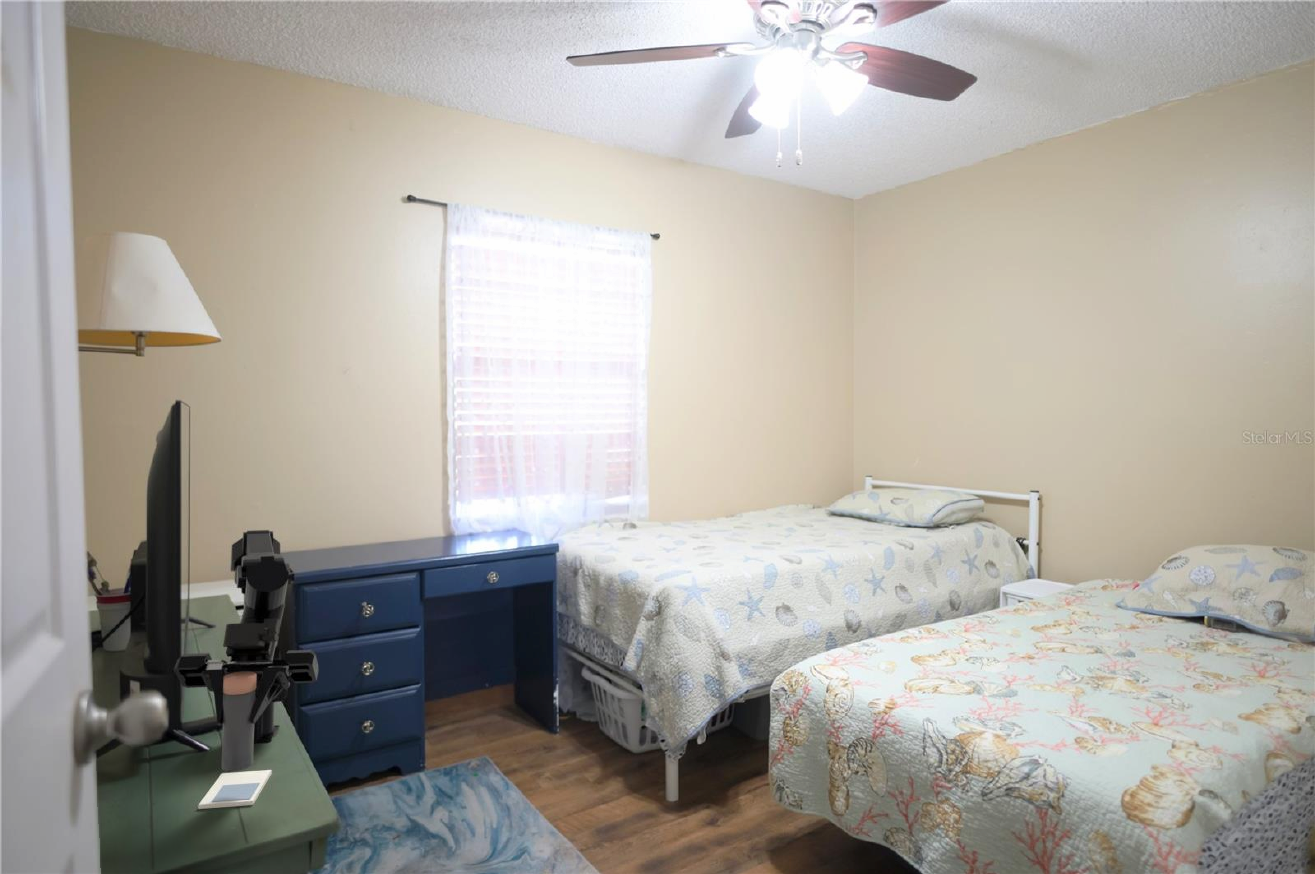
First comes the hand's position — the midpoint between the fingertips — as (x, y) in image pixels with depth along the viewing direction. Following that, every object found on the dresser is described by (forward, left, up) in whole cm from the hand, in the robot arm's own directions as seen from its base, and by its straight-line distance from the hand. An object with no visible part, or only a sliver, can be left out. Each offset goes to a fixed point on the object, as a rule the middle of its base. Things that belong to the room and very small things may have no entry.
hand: (235, 723), depth 108 cm
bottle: (-1, 0, -7) cm, 7 cm away
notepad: (-3, 0, -11) cm, 12 cm away
